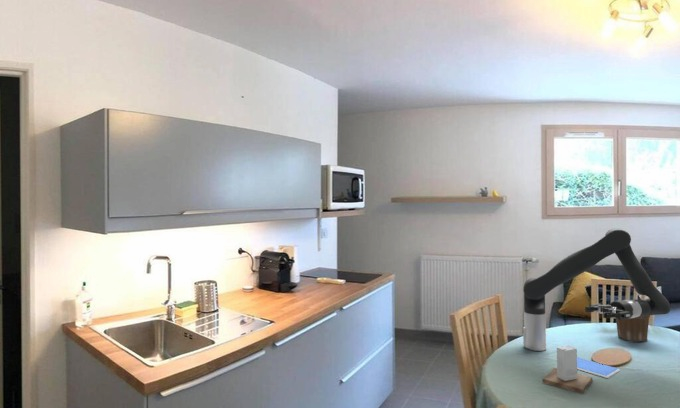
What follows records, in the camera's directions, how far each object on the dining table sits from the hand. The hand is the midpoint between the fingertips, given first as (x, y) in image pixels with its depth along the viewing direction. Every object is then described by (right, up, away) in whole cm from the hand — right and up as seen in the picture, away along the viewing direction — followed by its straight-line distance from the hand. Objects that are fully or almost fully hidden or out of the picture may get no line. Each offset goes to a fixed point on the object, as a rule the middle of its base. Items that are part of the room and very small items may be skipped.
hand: (594, 312), depth 166 cm
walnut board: (-14, -26, -6) cm, 30 cm away
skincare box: (-15, -24, -6) cm, 29 cm away
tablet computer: (+2, -26, +8) cm, 27 cm away
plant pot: (+44, -24, +40) cm, 65 cm away
